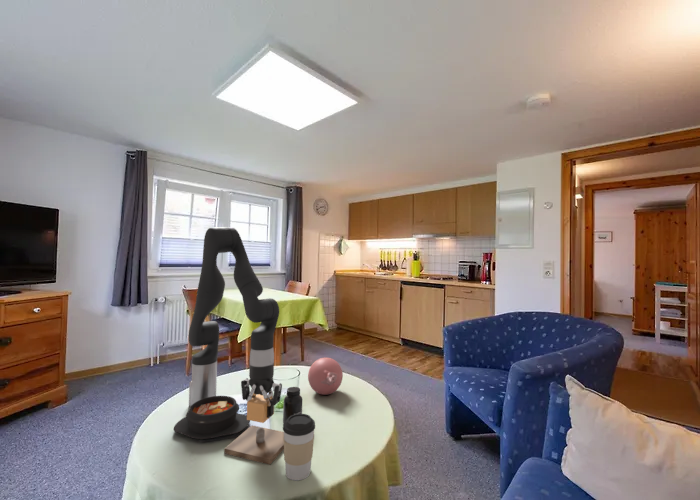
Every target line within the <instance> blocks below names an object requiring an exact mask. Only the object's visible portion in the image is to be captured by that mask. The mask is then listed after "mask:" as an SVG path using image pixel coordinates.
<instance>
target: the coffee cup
mask: <svg viewBox="0 0 700 500" xmlns="http://www.w3.org/2000/svg"><path fill="white" fill-rule="evenodd" d="M282 423H283V422H282ZM315 429H316V421H315V420H314V419H313V418H312V416H310V415H309V414H308V413H307V414H306V413H302V414H295V415H292V416H290V417H289V418H288V419H287V420H286V421H285V422H284V423H283V424H282V432H284V436H283V440H284V449H283V457H284V458H283V459H284V467H285V468H284V469H285V476H286V478H287V479H289V480H291V481H301V480H305V479H307V478H308V477H309V475H310V474H311V469H312V459H313V453H314V444H315V443H314V440H315Z"/></svg>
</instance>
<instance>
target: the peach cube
mask: <svg viewBox="0 0 700 500" xmlns="http://www.w3.org/2000/svg"><path fill="white" fill-rule="evenodd" d="M267 406H268V405H267V402H266V400H265V399H264V397H263V395H260V394H258V395H256V397H254V398H252V399H251V400H249V401H248V402H247V401H246V415H247V420H250V422H256V423H262V424H264V423H265V422H266V421H268V420H269V419H270V418H267ZM274 414H275V412H274V413H273V415H274Z"/></svg>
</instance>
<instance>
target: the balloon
mask: <svg viewBox="0 0 700 500" xmlns="http://www.w3.org/2000/svg"><path fill="white" fill-rule="evenodd" d="M343 376H344V375H343V368H342V366H341V365H340V364H339V362H338V361H337V360H335V359H333V358H331V357H321V358H317V359H316V360H315V361H314V362H313V363H312V364H311V365H310V367H309V370H308V373H307V380H308V383H309V385H310V388H311V389H312V390H313V391H314V392H315V393H317V394H318V395H319V394H320V395H323V396H324V395H325V396H326V395H331V394H334V393H335V392H336V391H337V390H338V389H339V388H340V386H341V384H342V383H343Z"/></svg>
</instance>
